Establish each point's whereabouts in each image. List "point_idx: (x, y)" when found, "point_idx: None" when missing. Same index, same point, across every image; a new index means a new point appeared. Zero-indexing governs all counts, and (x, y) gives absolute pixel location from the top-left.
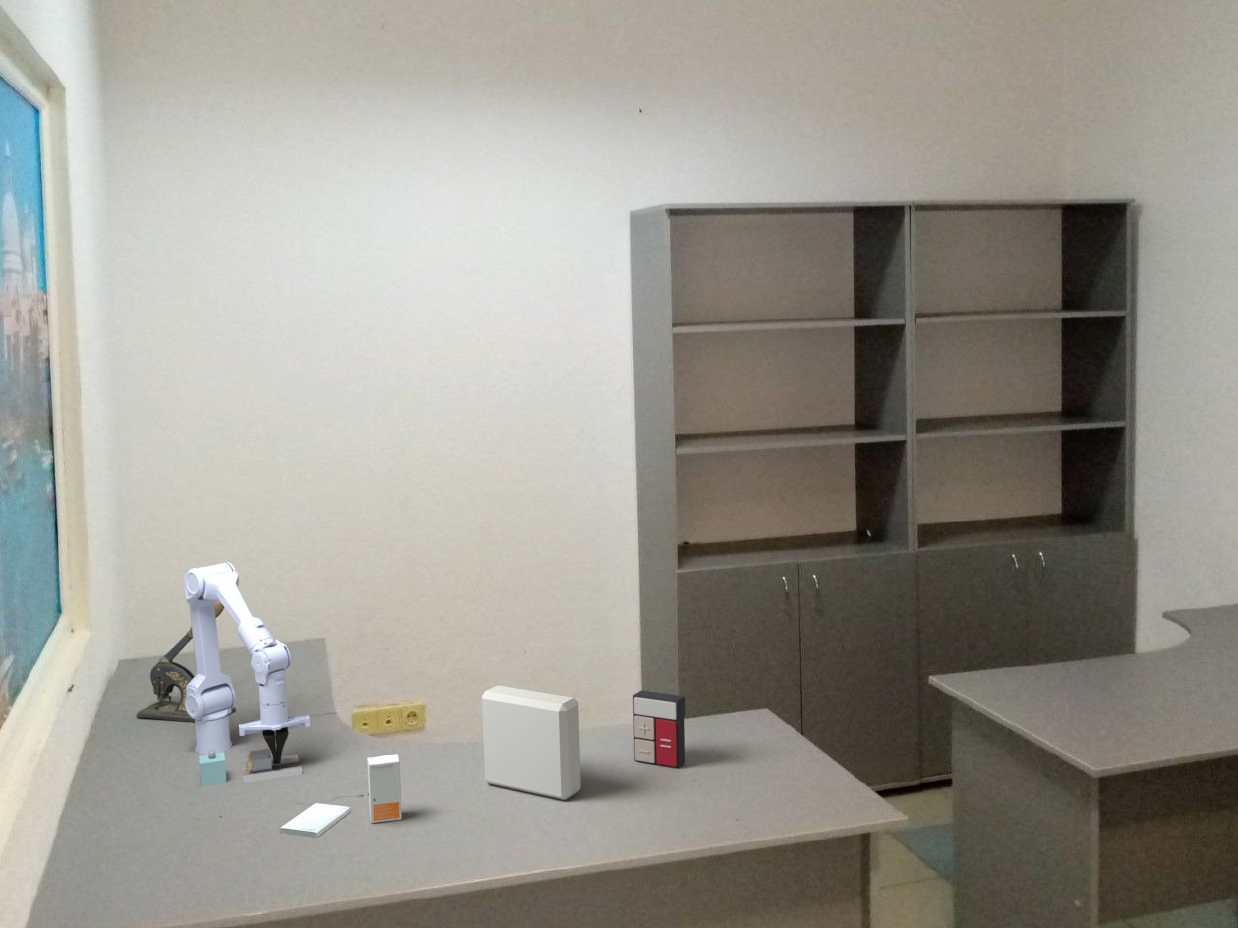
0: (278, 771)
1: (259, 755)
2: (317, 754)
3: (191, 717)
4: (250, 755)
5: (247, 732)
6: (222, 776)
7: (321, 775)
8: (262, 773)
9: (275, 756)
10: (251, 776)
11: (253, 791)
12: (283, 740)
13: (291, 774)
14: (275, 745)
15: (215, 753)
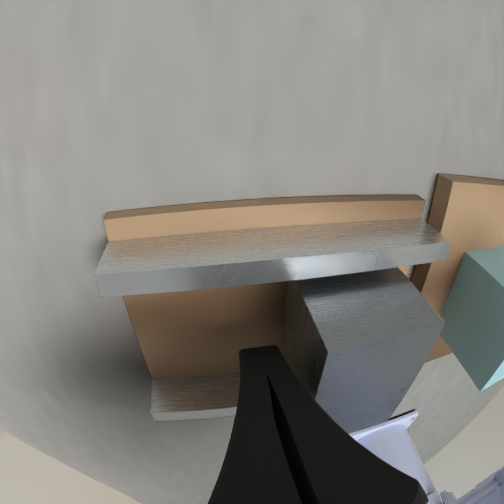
0: (259, 256)
1: (376, 386)
2: (108, 424)
3: None
4: (409, 386)
5: (487, 489)
6: (491, 267)
7: (27, 250)
8: (362, 249)
9: (282, 381)
10: (412, 239)
11: (390, 143)
12: (236, 500)
13: (169, 244)
14: (302, 454)
15: (499, 379)
